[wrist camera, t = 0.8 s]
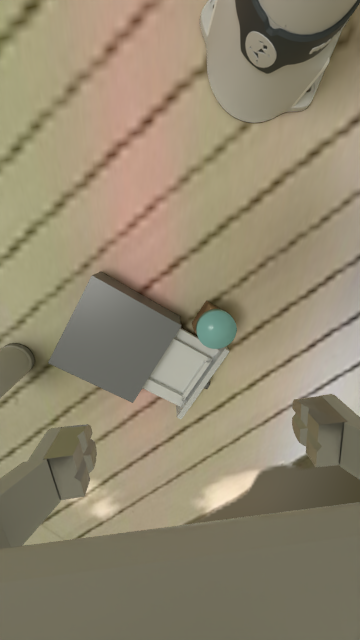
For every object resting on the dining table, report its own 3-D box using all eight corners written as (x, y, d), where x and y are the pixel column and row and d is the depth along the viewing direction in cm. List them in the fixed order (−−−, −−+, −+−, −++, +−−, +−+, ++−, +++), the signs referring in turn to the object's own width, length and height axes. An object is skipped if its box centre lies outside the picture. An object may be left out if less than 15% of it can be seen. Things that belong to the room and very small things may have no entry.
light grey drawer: (153, 303, 45) (152, 308, 42) (229, 346, 48) (234, 353, 45) (111, 374, 49) (107, 384, 46) (184, 409, 52) (185, 421, 49)
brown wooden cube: (206, 300, 45) (210, 307, 41) (228, 314, 46) (235, 322, 42) (191, 323, 47) (194, 332, 42) (214, 335, 48) (219, 346, 43)
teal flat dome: (209, 301, 40) (211, 304, 39) (241, 320, 42) (244, 323, 40) (188, 333, 42) (189, 337, 40) (220, 351, 43) (222, 355, 42)
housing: (100, 271, 43) (91, 275, 38) (180, 316, 46) (181, 325, 41) (60, 350, 47) (47, 363, 42) (136, 386, 50) (132, 402, 45)
